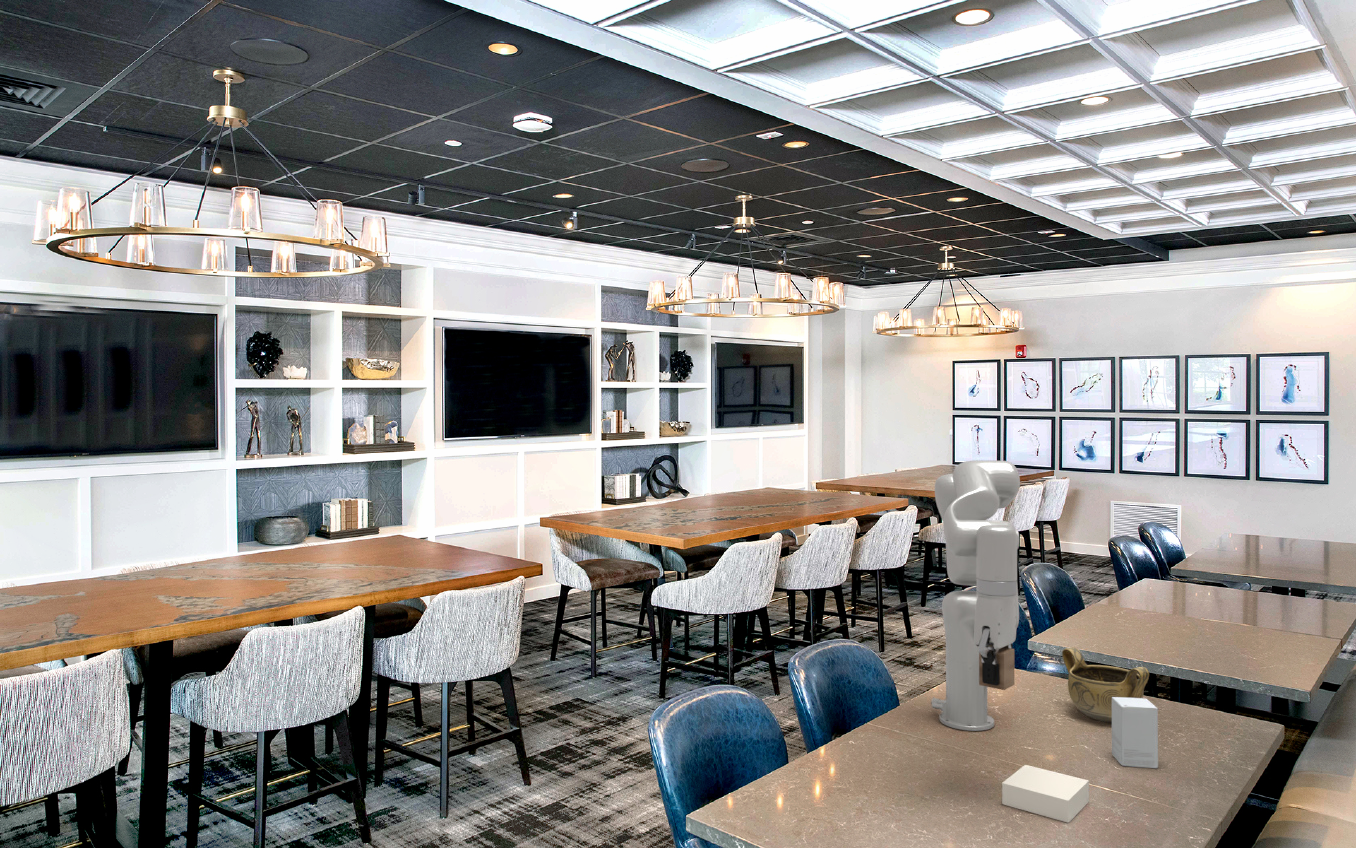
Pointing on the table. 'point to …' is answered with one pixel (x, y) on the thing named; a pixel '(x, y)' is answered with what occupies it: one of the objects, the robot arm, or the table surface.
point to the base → (1046, 793)
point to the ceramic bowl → (1100, 684)
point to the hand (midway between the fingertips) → (996, 680)
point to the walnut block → (1001, 668)
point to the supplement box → (1135, 732)
